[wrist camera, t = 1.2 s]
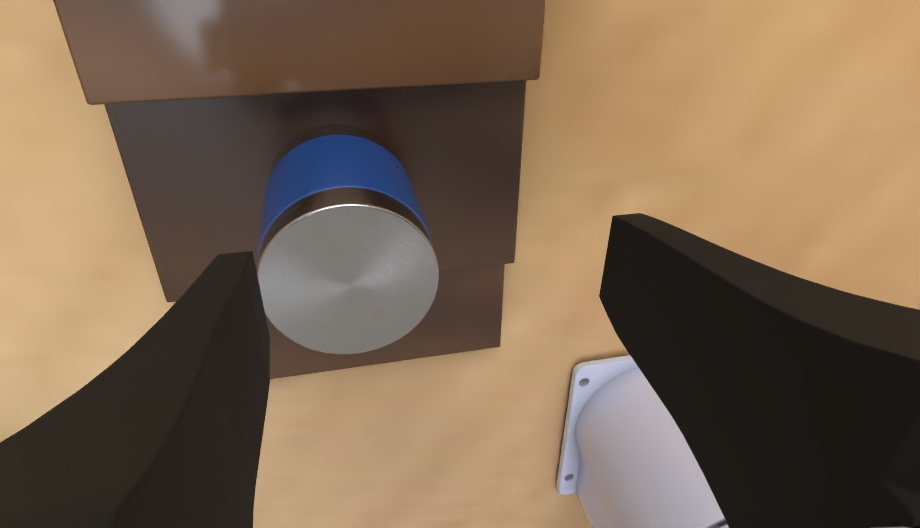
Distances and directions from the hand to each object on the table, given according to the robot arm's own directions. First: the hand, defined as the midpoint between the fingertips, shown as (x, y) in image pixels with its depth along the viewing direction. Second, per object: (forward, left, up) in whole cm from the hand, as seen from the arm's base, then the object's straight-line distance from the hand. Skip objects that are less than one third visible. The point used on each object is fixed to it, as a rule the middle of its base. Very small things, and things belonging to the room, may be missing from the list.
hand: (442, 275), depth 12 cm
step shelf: (-1, +2, -10) cm, 10 cm away
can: (-2, +2, -8) cm, 8 cm away
